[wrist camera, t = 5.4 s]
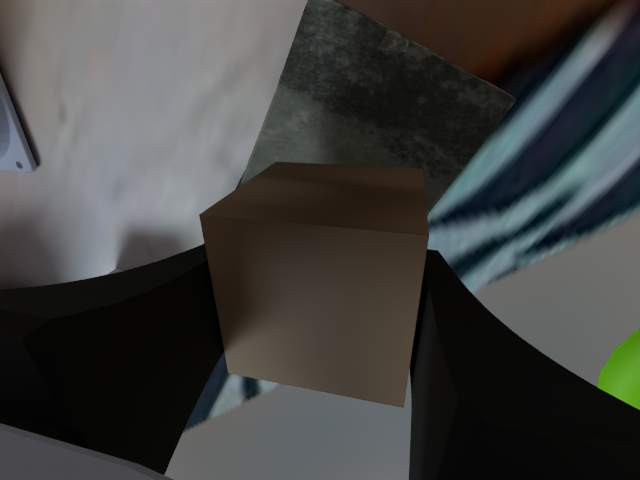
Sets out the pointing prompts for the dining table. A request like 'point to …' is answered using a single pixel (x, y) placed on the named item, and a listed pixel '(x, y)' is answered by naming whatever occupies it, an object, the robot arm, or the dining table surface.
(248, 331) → the walnut cube
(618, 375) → the wineglass
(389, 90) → the stone block
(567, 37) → the dining table surface
